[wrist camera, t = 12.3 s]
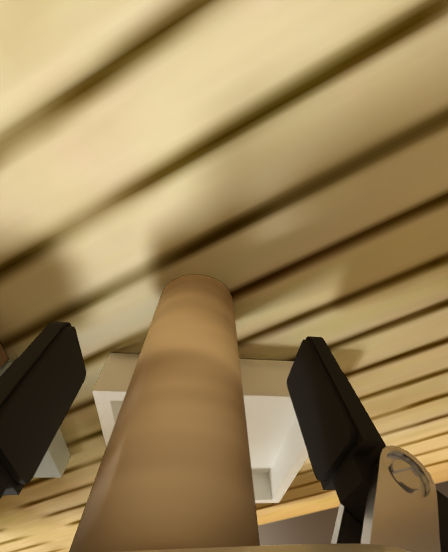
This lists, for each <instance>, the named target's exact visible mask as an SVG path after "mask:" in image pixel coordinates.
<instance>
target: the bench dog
mask: <svg viewBox="0 0 448 552" xmlns="http://www.w3.org/2000/svg"><path fill="white" fill-rule="evenodd" d="M7 361H8V358H7V356H6V353H5V351H4V349H3V347H2V345H1V343H0V368H1V367H2V366H3V365H4V364H5V363H6V362H7Z"/></svg>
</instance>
